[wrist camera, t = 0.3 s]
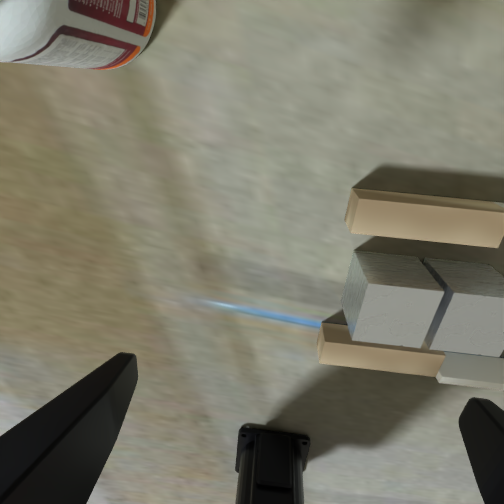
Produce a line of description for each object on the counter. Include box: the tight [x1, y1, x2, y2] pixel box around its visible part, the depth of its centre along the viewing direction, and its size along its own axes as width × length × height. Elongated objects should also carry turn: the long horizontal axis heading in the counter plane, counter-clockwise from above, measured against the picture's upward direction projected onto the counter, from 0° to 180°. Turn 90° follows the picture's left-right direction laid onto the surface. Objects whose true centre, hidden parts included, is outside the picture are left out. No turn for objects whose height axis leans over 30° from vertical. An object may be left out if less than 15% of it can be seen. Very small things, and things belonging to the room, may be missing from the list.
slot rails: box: [317, 188, 504, 377], centre depth 20 cm, size 12×8×2 cm, turn 176°
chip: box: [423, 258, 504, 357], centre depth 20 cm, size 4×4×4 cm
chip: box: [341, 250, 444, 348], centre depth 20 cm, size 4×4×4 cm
